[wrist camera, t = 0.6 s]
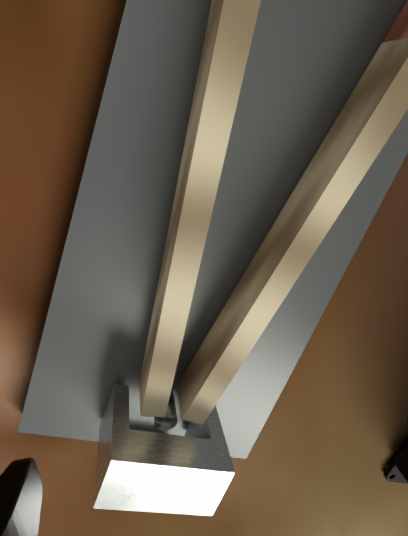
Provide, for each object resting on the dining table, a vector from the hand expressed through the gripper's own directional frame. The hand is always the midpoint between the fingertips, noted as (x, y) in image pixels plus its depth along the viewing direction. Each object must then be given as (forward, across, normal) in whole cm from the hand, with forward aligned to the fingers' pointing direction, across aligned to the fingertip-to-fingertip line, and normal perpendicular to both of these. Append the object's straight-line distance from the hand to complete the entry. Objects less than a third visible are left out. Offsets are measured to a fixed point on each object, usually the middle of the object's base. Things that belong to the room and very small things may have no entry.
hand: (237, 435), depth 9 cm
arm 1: (+10, -5, -2) cm, 12 cm away
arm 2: (+10, -1, -4) cm, 11 cm away
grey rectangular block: (+11, +2, +9) cm, 14 cm away
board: (+12, -2, -1) cm, 12 cm away
